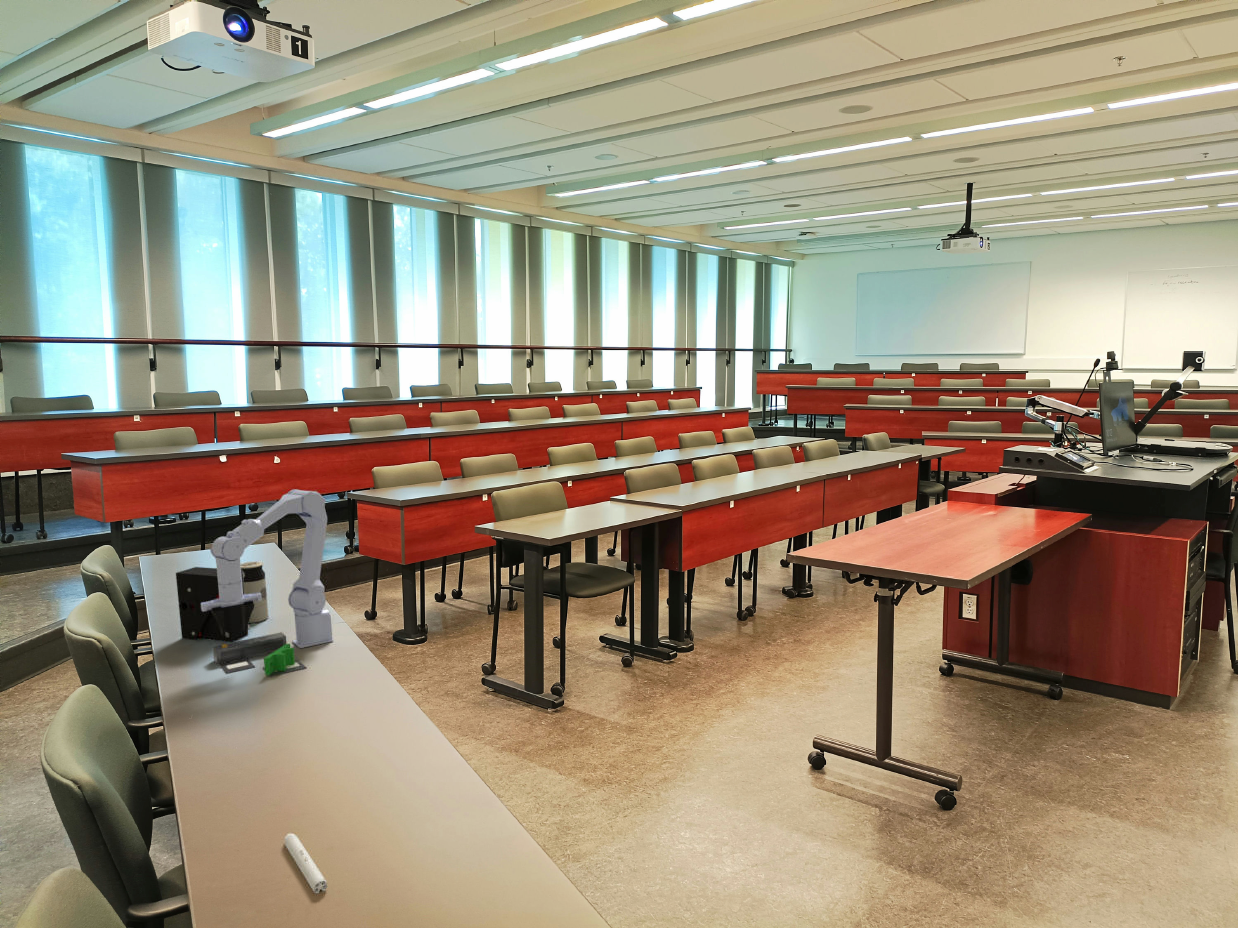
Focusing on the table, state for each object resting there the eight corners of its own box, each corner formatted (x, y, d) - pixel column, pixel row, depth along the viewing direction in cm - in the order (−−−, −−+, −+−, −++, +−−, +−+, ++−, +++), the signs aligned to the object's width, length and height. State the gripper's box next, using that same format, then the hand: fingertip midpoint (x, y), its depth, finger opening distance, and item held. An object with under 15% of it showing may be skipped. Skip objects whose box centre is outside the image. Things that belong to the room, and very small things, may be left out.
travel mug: (235, 622, 262) (230, 566, 260) (255, 614, 269) (250, 560, 267) (254, 624, 259) (250, 567, 257) (274, 617, 266) (269, 561, 264)
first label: (247, 659, 227) (247, 658, 227) (255, 667, 221) (254, 666, 221) (220, 665, 223) (220, 664, 223) (226, 673, 217) (226, 672, 217)
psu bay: (282, 645, 238) (281, 630, 237) (287, 649, 234) (286, 634, 233) (214, 660, 227) (212, 644, 226) (217, 664, 223) (216, 649, 223)
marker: (281, 843, 138) (280, 829, 138) (294, 838, 139) (293, 825, 139) (314, 896, 124) (313, 881, 123) (328, 891, 125) (327, 876, 125)
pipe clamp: (278, 675, 214) (277, 658, 213) (265, 675, 214) (263, 658, 213) (300, 659, 225) (299, 643, 224) (287, 659, 225) (286, 643, 224)
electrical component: (253, 633, 250) (247, 568, 248) (227, 644, 241) (221, 576, 238) (207, 628, 256) (201, 565, 253) (180, 639, 246) (173, 573, 244)
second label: (297, 659, 225) (297, 658, 225) (306, 668, 219) (306, 666, 219) (262, 667, 220) (262, 666, 220) (270, 676, 214) (270, 675, 214)
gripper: (202, 590, 212) (207, 641, 213) (263, 580, 220) (267, 629, 222) (197, 584, 217) (202, 635, 219) (256, 575, 226) (260, 623, 228)
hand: (234, 632), depth 221 cm, fingers open, 5 cm apart
